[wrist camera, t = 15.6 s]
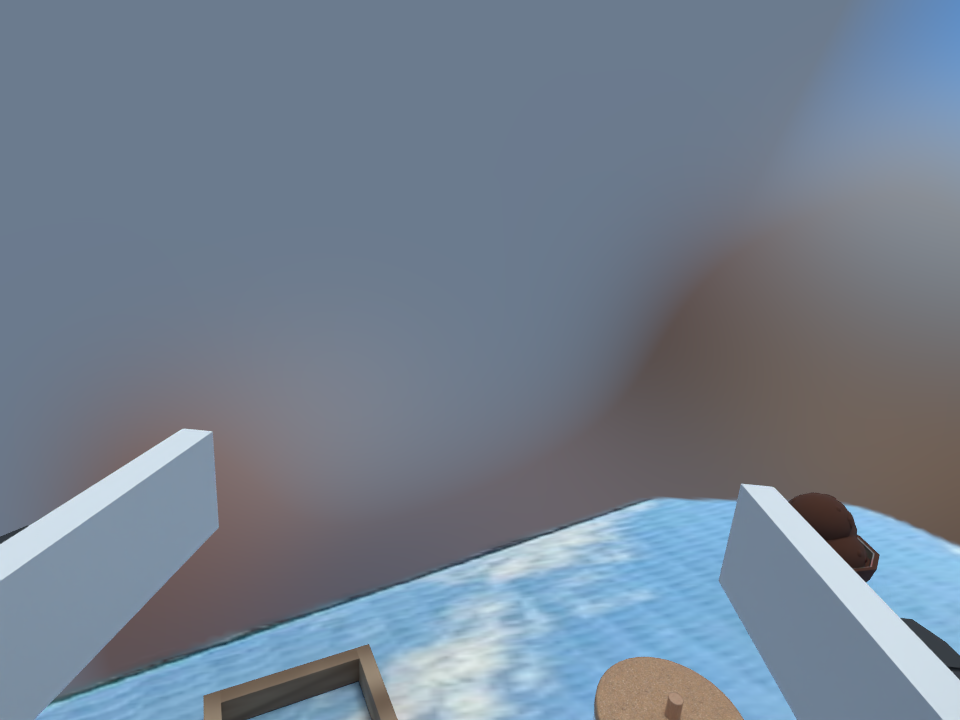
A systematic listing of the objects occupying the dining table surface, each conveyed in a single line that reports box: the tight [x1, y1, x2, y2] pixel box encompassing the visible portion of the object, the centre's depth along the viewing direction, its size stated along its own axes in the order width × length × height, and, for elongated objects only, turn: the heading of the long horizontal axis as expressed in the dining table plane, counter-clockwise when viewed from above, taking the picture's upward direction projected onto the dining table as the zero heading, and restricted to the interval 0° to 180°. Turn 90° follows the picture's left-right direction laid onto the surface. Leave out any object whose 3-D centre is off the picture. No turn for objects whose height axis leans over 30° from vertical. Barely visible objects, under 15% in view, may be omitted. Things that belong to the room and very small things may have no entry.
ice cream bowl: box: [788, 493, 879, 582], centre depth 58 cm, size 11×11×15 cm
